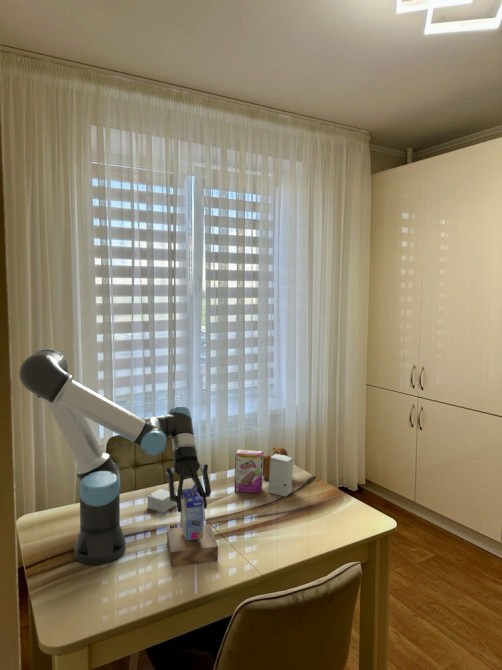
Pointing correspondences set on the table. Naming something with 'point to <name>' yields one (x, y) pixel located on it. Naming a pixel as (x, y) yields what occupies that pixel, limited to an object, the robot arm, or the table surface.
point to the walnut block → (191, 547)
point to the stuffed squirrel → (267, 461)
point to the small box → (160, 501)
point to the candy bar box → (248, 471)
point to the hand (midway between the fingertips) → (194, 520)
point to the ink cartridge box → (192, 514)
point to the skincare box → (280, 475)
